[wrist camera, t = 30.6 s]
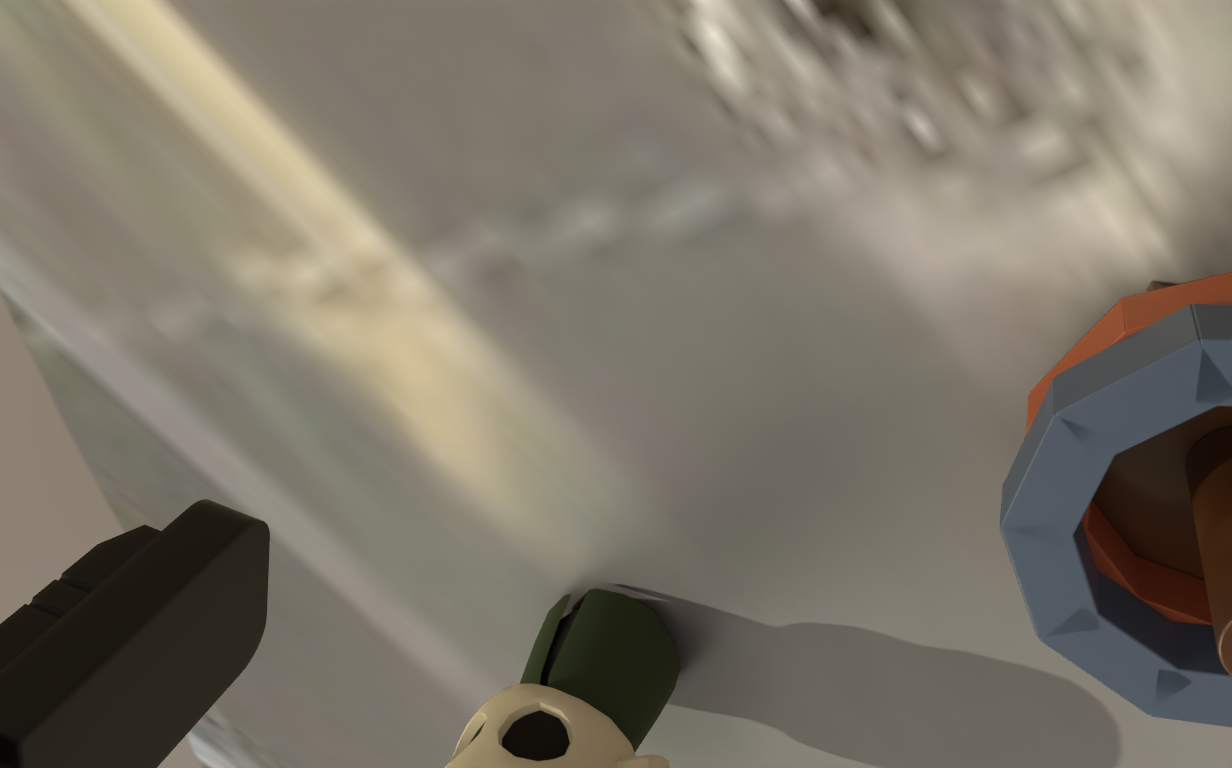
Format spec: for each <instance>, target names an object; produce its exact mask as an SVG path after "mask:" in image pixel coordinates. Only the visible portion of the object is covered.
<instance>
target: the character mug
mask: <svg viewBox="0 0 1232 768" xmlns="http://www.w3.org/2000/svg"><path fill="white" fill-rule="evenodd" d="M570 596H571V594H570V595H565V596H564V597H563V598H562V599H561V600H560V601H559V602H558V603H557V604H556V605H555V606H554V607H553V608H552V609H551V610H550V611H549V612H548V614H547V617H546V619H545V621H544V623H543V625H542V628H541V630H540V632H539V634H538V636H537V639H536V641H535V643H534V646H533V649H532V652H531V654H530V657H529V660H528V662H527V665H526V668H525V671H524V673H523V676H522V679H521V682H520V684H517V685H514V686H511V687H508V688H506V689H504V690H503V691H501V692H500V693H498V694H497V695H495V696H494V697H492V698H491V699H490V700H488V701H487V702H485V703H484V704H483V705H482V706H481V708H480V709H479V710H478V711H477V713H476V714H475V715H474V716H473V718H472V719H471V720H470V721H469V722H468V724H467V726H466V728H465V730H464V732H463V733H462V735H461V737H460V739H459V741H458V744H457V746H456V749H455V752H454V754H453V757H452V759H451V761H450V762H449V764H448V765H447V766H446V767H445V768H669V760H667V759H665V758H664V757H662V756H658V755H645V756H637V757H636V755H635V752H636V750H637V749H638V747H639V745H640V744H641V742H642V741H643V739H644V738H645V736H646V735H647V733H648V732H649V730H650V729H651V727H652V726H653V724H654V723H655V721H656V720H657V718H658V717H659V715H660V713H661V711H662V710H663V708H664V706H665V704H666V703H667V701H668V699H669V697H670V696H671V694H672V692H673V690H674V688H675V685H676V681H677V678H678V675H679V671H680V664H679V660H678V657H677V653H676V649H675V645H674V642H673V640H672V638H671V637H670V635H669V634H668V632H667V631H666V629H665V628H664V626H663V624H662V623H661V621H660V620H659V618H658V617H657V615H656V614H655V612H653V611H651V610H650V609H648V608H646V607H645V606H643V605H642V604H640V603H638V602H637V601H635V600H633V599H632V598H630V597H629V596H627V595H624V594H619V593H615V592H610V591H605V590H601V589H592V590H589V591H588V593H587V595H586V597H585V599H584V601H583V603H582V605H581V607H580V609H579V610H575V611H574V612H572V613H570V614H569V615H567V616H565V617H564V618H562V619H561V617H562V615H563V613H564V610H565V608H566V606H567V603H568V601H569V599H570Z"/></svg>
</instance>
